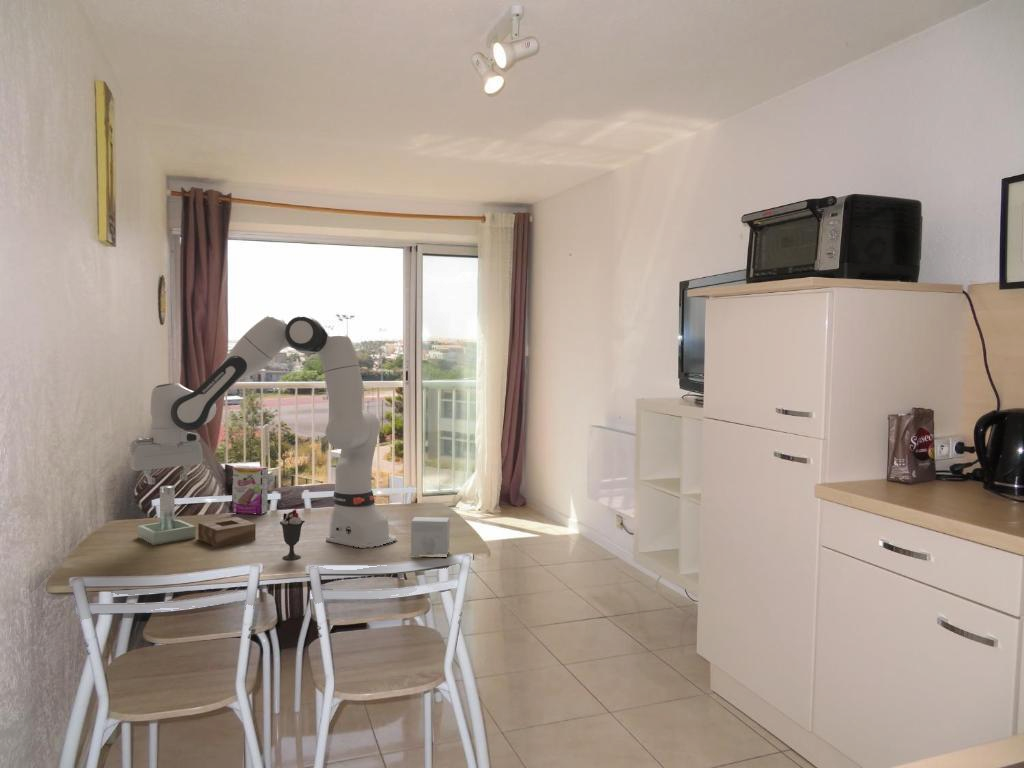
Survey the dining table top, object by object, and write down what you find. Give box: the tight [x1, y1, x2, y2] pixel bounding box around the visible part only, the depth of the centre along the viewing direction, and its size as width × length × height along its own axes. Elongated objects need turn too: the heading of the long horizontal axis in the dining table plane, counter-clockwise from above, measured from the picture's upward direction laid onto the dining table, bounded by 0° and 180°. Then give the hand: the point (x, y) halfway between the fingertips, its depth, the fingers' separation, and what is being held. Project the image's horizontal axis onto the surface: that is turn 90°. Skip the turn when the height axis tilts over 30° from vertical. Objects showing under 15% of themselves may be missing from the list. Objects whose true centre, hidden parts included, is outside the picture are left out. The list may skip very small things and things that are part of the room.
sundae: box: [279, 504, 305, 561], centre depth 196 cm, size 7×7×15 cm
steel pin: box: [159, 485, 176, 531], centre depth 214 cm, size 4×4×15 cm
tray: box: [137, 519, 197, 546], centre depth 214 cm, size 12×12×4 cm
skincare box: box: [410, 516, 451, 557], centre depth 203 cm, size 10×6×10 cm, turn 89°
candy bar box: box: [231, 465, 269, 515], centre depth 248 cm, size 11×5×16 cm, turn 84°
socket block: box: [197, 516, 257, 548], centre depth 213 cm, size 12×12×5 cm
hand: (167, 482), depth 213 cm, fingers open, 8 cm apart
